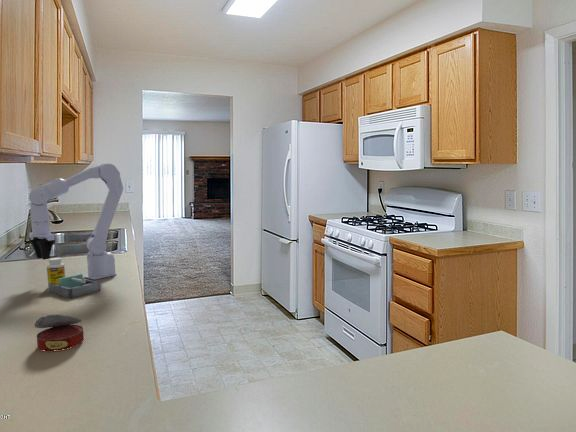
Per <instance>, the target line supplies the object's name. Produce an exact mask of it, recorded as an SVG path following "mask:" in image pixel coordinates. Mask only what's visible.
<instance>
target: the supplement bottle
mask: <svg viewBox="0 0 576 432" xmlns="http://www.w3.org/2000/svg"><path fill="white" fill-rule="evenodd" d="M65 269H66V268H65V264H64V262H63V261H62V257H54V258H53V257H52V258H51V257H50V258H49V259H48V264H47V265H46V275H47V286H48V287H47V288H49V285H48V284H50V283H53V284H57V285H59V278H64V277H66V272H65V271H66V270H65Z"/></svg>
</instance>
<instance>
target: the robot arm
mask: <svg viewBox="0 0 576 432" xmlns="http://www.w3.org/2000/svg"><path fill="white" fill-rule="evenodd" d="M89 179H101V180H102V181H103V183H104V184H105V185H106V187H107V189H108V192H107V195H106V197H105V200H104V203H103V205H102V207H101V212H100V214H99V217H98V220H97V223H96V225H95V227H94V229H93V231H92V234H91V235H90V236H89V237H88V238H87V240H86V242H85V245H86V248H87V249H88V252H87V253H86V261H87V263H86V264H87V275H86V274H85V275H84V276H83V278H84V279H88V280H93V281H96V280H99V279H104V278H108V277H112V276H116V275H117V272H116V262H115V256H114V254H113V253H112V252H107V246H108V245H107V240H108V233H109V230H110V227H111V224H112V222H113V219H114V216H115V213H116V211H117V207H118V206H119V202H120V199H121V197H122V194H123V191H124V187H123V182H122V177H121V173H120V171H119V169H118V168H117V166H115V164H112V163H108V162H107V163H102V164H100V165H97V166H91V167H89V168H86V169H85V170H82V171H81V172H78V173H76V174H74V175H72V176H70V177H68V178H65V179H64V178H60V177H59V178H56V177H55V178H53V179H52V180H51V181H50V182H48V183H45V184H40V185H39V188H38V187H37V188H34V189H32V190H31V191H30V193H28V194H29V195H28V199H29V201H30V205H29V207H30V210H29V211H30V222H31V223H30V224H31V232H29V233H28V234H29V235H28V237H29V238H30V240H28V241H29V243H30V245H31V246H32V248H33V250H34V252H35V255H36V258H37V259H42V260H49V259H51V252H52V248H53V245H54V244H55V234H53V233H52V232H51V224H50V217H49V216H50V215H49V213H50V212H49V208H48V200H53V199H56V198H57V197H59V196H63V195H64V194H66V193H67V194H68V192H69V189H70V188H71V187H73V186H75V185H78V184H80V183H83V182H85V181H87V180H89Z"/></svg>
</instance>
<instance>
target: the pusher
mask: <svg viewBox="0 0 576 432" xmlns="http://www.w3.org/2000/svg"><path fill="white" fill-rule="evenodd" d="M83 278H84V276H83V273H79V274H73V275H70V276H69V275H68V276H65V277H64V278H59V285H61V286H64V287H68V288H73V287H78V286H82V285H83V283H84V284H85V283H86V281H85V280H83Z"/></svg>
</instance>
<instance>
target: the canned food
mask: <svg viewBox="0 0 576 432" xmlns="http://www.w3.org/2000/svg"><path fill="white" fill-rule="evenodd" d="M81 322H82V319H80V318H78V317H74V316H71V315H70V316H69V315H62V314H47V315H46V316H41V317H39V318H37V320H36V322H35V323H34V327H35V328H37V329H43V330H41V331H39V332H38V333H37V334H36V343H37V349H38V348H39V349H40V350H45V351H54V350H62V349H67V348H70V347H73V346H76V345H78V344H80V343H81V342H82V341H83V340H84V341H85V339H84V328H83V326H82V325H79V324H78V323H81ZM84 341H83V342H84ZM83 342H82V343H83ZM82 343H81V344H82ZM81 344H80V345H81ZM78 346H79V345H78ZM76 347H77V346H76ZM73 348H74V347H73ZM39 349H38V350H39ZM70 349H71V348H70ZM40 350H39V351H40ZM67 350H68V349H67ZM62 351H63V350H62Z"/></svg>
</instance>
